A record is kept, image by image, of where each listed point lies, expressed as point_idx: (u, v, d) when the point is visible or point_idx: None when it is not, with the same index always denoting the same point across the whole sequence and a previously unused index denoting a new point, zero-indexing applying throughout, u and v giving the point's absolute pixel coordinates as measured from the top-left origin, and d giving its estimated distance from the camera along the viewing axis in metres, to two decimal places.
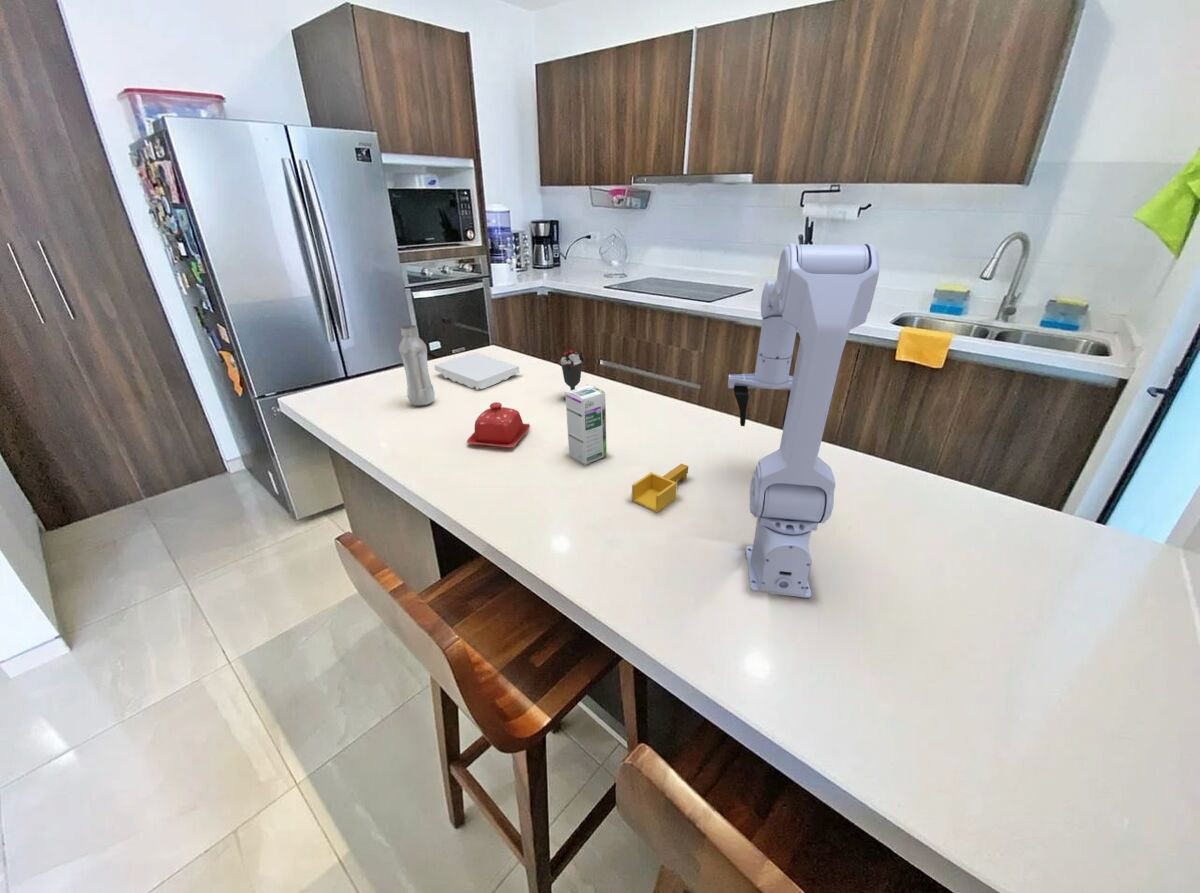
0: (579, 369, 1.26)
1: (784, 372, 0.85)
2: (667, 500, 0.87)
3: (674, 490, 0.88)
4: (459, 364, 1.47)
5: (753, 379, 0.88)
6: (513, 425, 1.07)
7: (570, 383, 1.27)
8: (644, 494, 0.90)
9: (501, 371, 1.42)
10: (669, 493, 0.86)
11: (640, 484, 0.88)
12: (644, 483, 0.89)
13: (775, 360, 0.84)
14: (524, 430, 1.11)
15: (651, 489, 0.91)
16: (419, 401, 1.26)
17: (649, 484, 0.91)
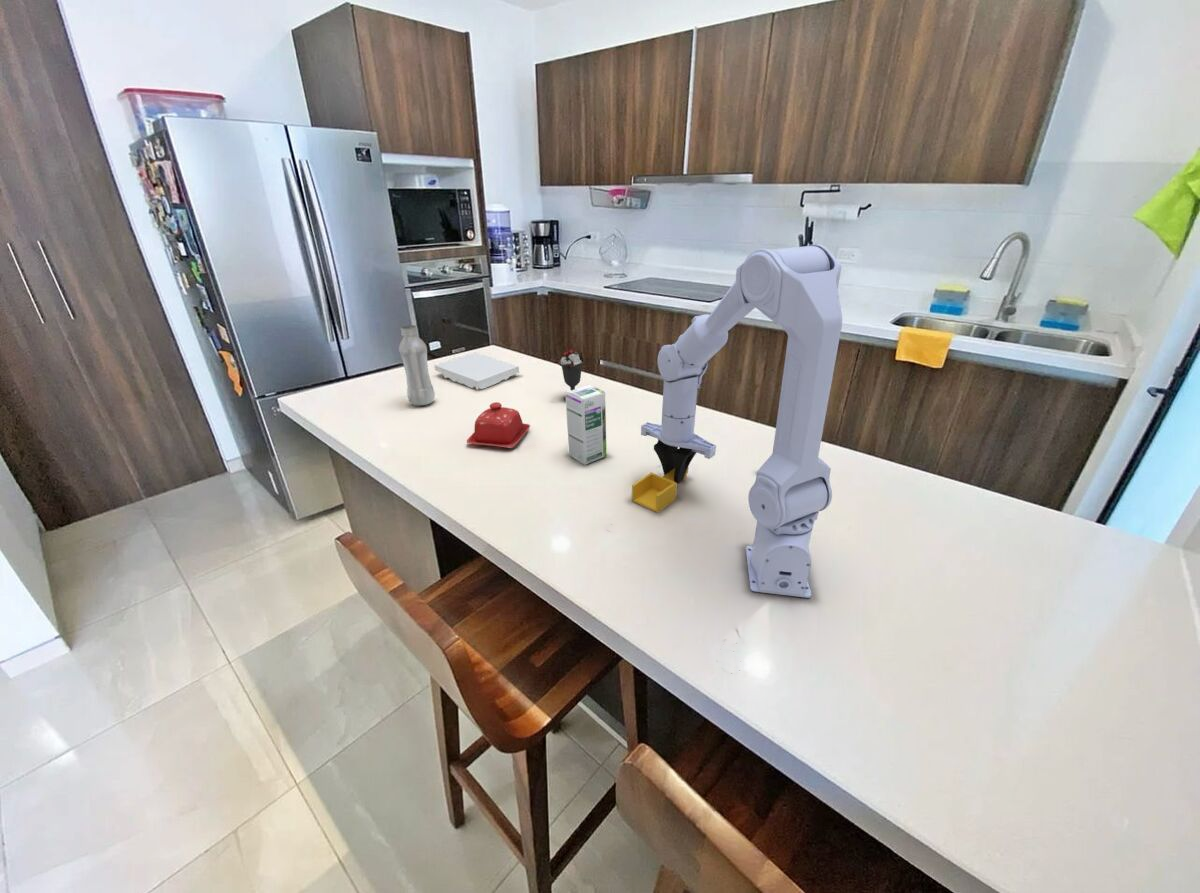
0: (579, 369, 1.26)
1: (678, 431, 0.85)
2: (667, 500, 0.87)
3: (674, 490, 0.88)
4: (459, 364, 1.47)
5: (661, 432, 0.90)
6: (512, 425, 1.07)
7: (570, 383, 1.27)
8: (644, 494, 0.90)
9: (501, 371, 1.42)
10: (669, 493, 0.86)
11: (640, 484, 0.88)
12: (644, 483, 0.89)
13: (668, 418, 0.84)
14: (524, 430, 1.11)
15: (651, 489, 0.91)
16: (419, 401, 1.26)
17: (649, 484, 0.91)
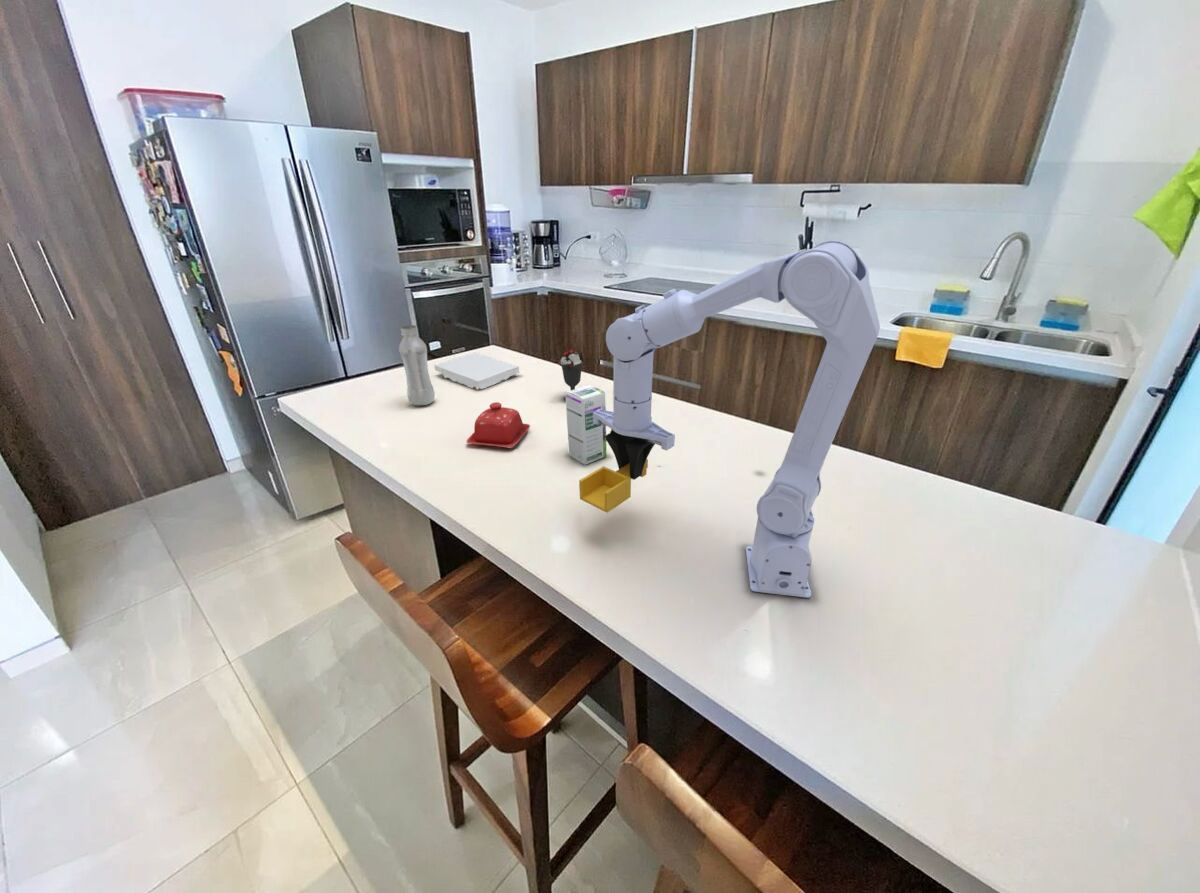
0: (579, 369, 1.26)
1: (631, 418, 0.73)
2: (619, 498, 0.75)
3: (628, 487, 0.76)
4: (459, 364, 1.47)
5: None
6: (512, 425, 1.07)
7: (570, 383, 1.27)
8: (594, 491, 0.78)
9: (501, 371, 1.42)
10: (621, 490, 0.75)
11: (589, 480, 0.76)
12: (594, 479, 0.77)
13: (619, 402, 0.72)
14: (524, 430, 1.11)
15: (604, 486, 0.79)
16: (419, 401, 1.26)
17: (601, 480, 0.79)
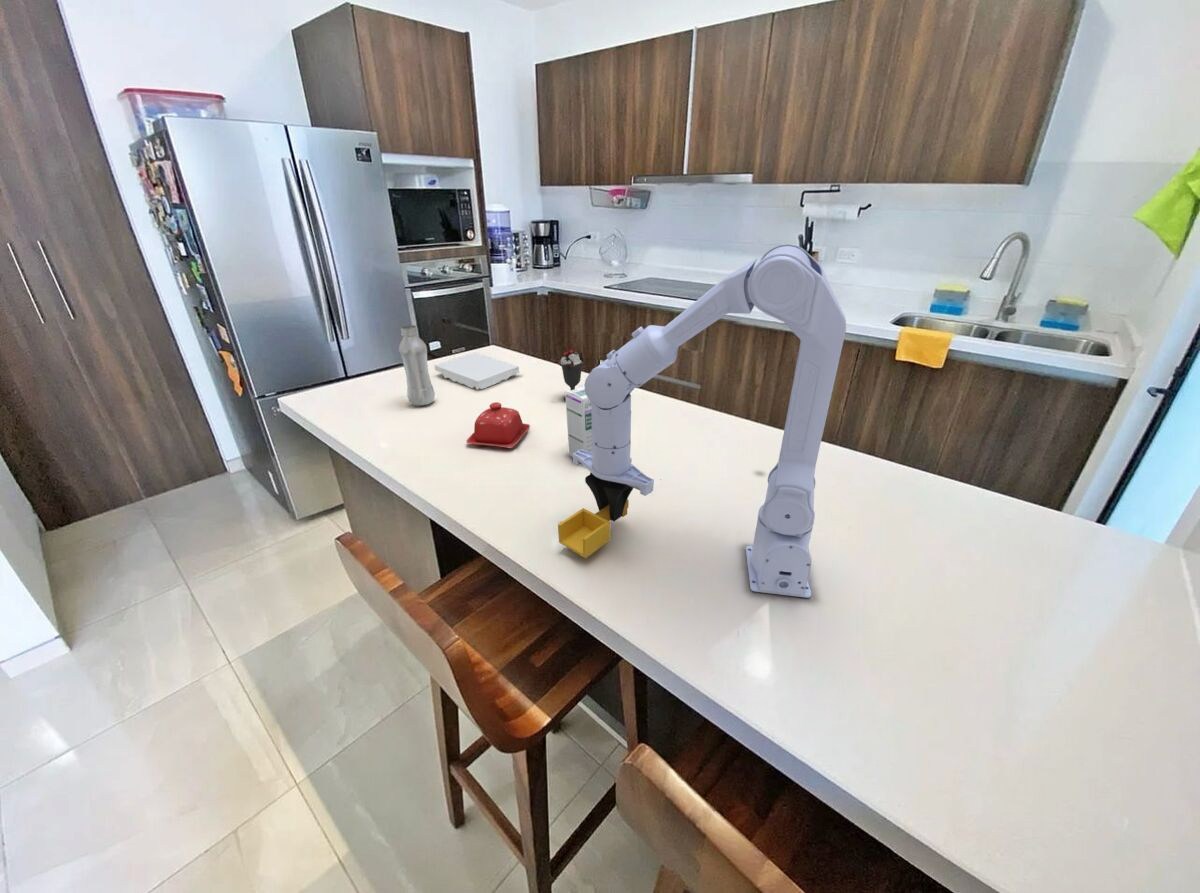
0: (579, 369, 1.26)
1: (609, 463, 0.72)
2: (598, 543, 0.74)
3: (607, 530, 0.75)
4: (459, 364, 1.47)
5: None
6: (512, 425, 1.07)
7: (570, 383, 1.27)
8: (574, 534, 0.77)
9: (501, 371, 1.42)
10: (600, 535, 0.74)
11: (568, 523, 0.76)
12: (573, 521, 0.77)
13: (597, 447, 0.72)
14: (524, 430, 1.11)
15: (583, 527, 0.78)
16: (419, 401, 1.26)
17: (581, 522, 0.78)
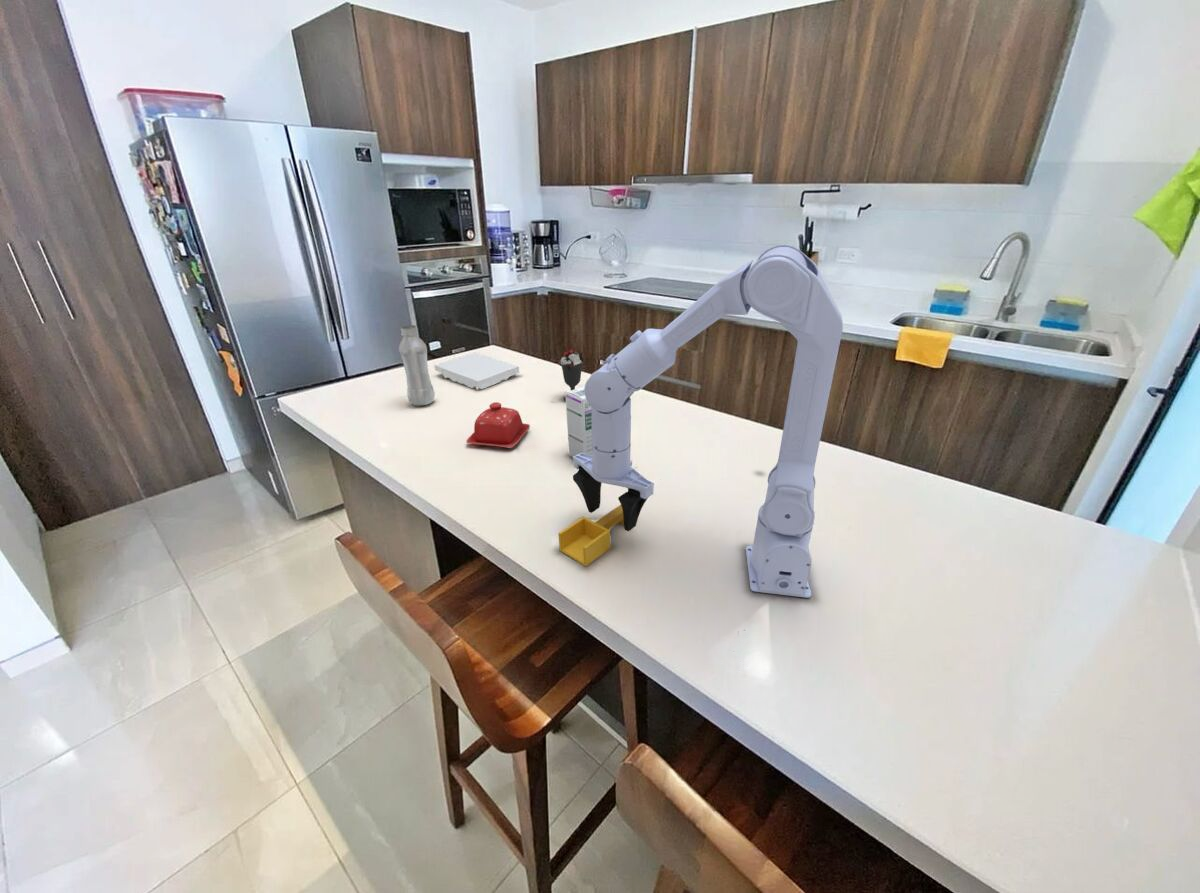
0: (579, 369, 1.26)
1: (609, 466, 0.72)
2: (598, 551, 0.75)
3: (607, 539, 0.76)
4: (459, 364, 1.47)
5: None
6: (512, 425, 1.07)
7: (570, 383, 1.27)
8: (574, 542, 0.78)
9: (501, 371, 1.42)
10: (600, 543, 0.75)
11: (568, 532, 0.76)
12: (574, 530, 0.77)
13: (597, 451, 0.72)
14: (524, 430, 1.11)
15: (584, 536, 0.79)
16: (419, 401, 1.26)
17: (581, 530, 0.79)
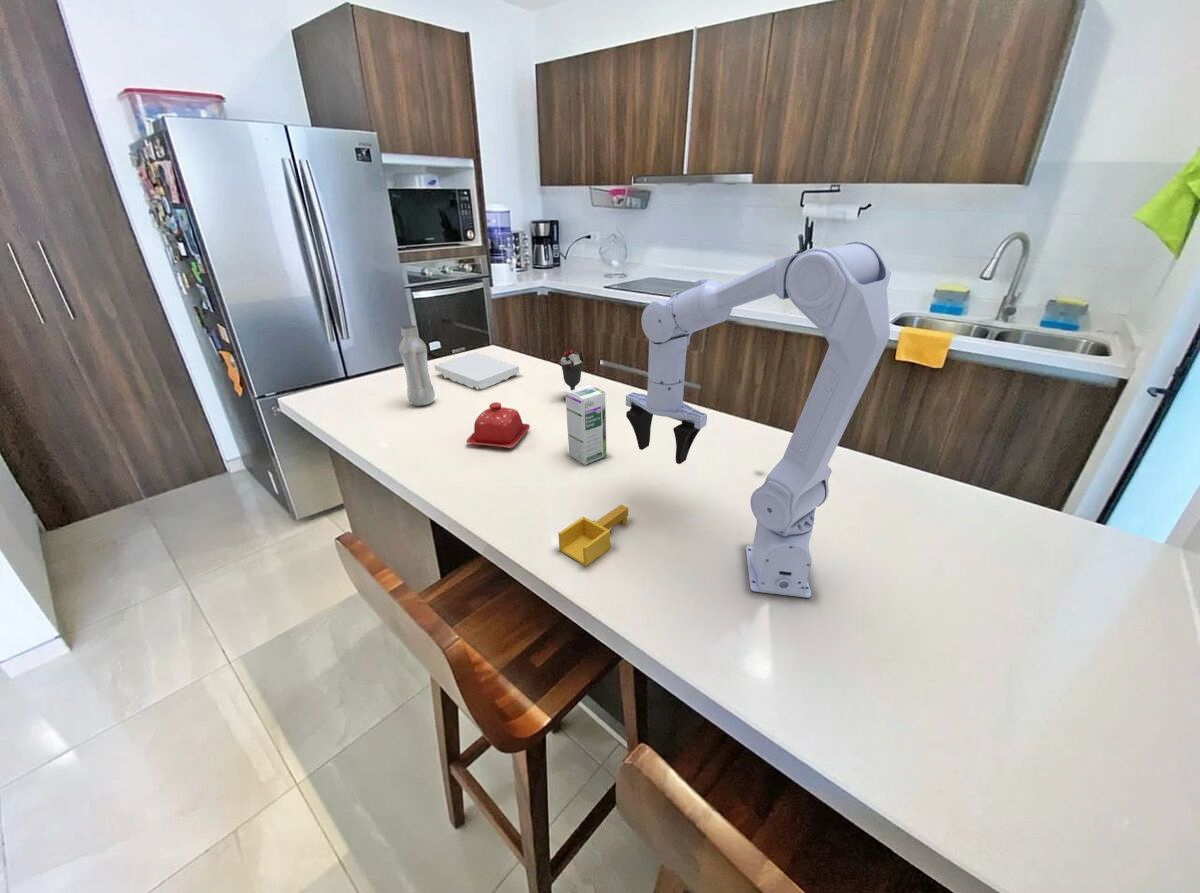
0: (579, 369, 1.26)
1: (665, 399, 0.76)
2: (598, 551, 0.75)
3: (607, 539, 0.76)
4: (459, 364, 1.47)
5: None
6: (512, 425, 1.07)
7: (570, 383, 1.27)
8: (574, 542, 0.78)
9: (501, 371, 1.42)
10: (600, 543, 0.75)
11: (568, 532, 0.76)
12: (574, 530, 0.77)
13: (654, 384, 0.76)
14: (524, 430, 1.11)
15: (584, 536, 0.79)
16: (419, 401, 1.26)
17: (581, 530, 0.79)
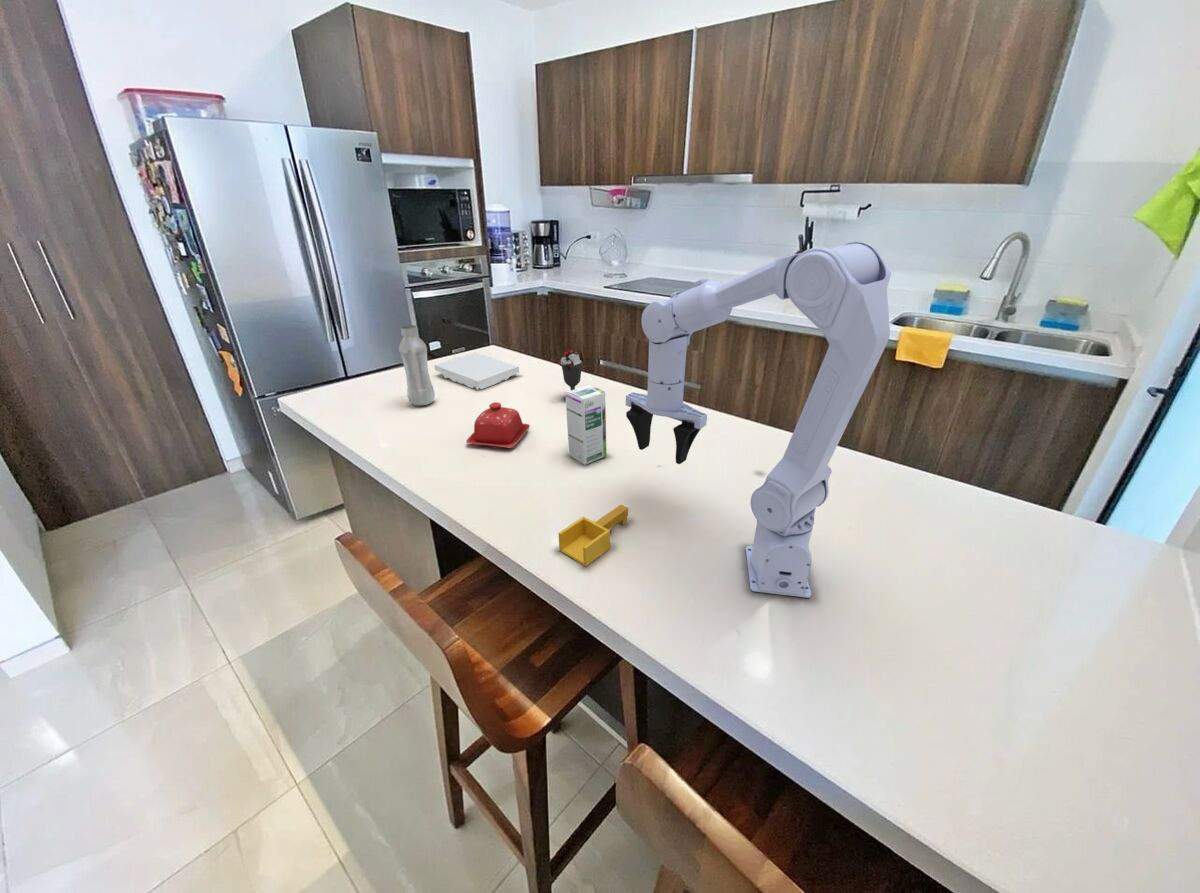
0: (579, 369, 1.26)
1: (665, 399, 0.76)
2: (598, 551, 0.75)
3: (607, 539, 0.76)
4: (459, 364, 1.47)
5: None
6: (512, 425, 1.07)
7: (570, 383, 1.27)
8: (574, 542, 0.78)
9: (501, 371, 1.42)
10: (600, 543, 0.75)
11: (568, 532, 0.76)
12: (574, 530, 0.77)
13: (654, 384, 0.76)
14: (524, 430, 1.11)
15: (584, 536, 0.79)
16: (419, 401, 1.26)
17: (581, 530, 0.79)
